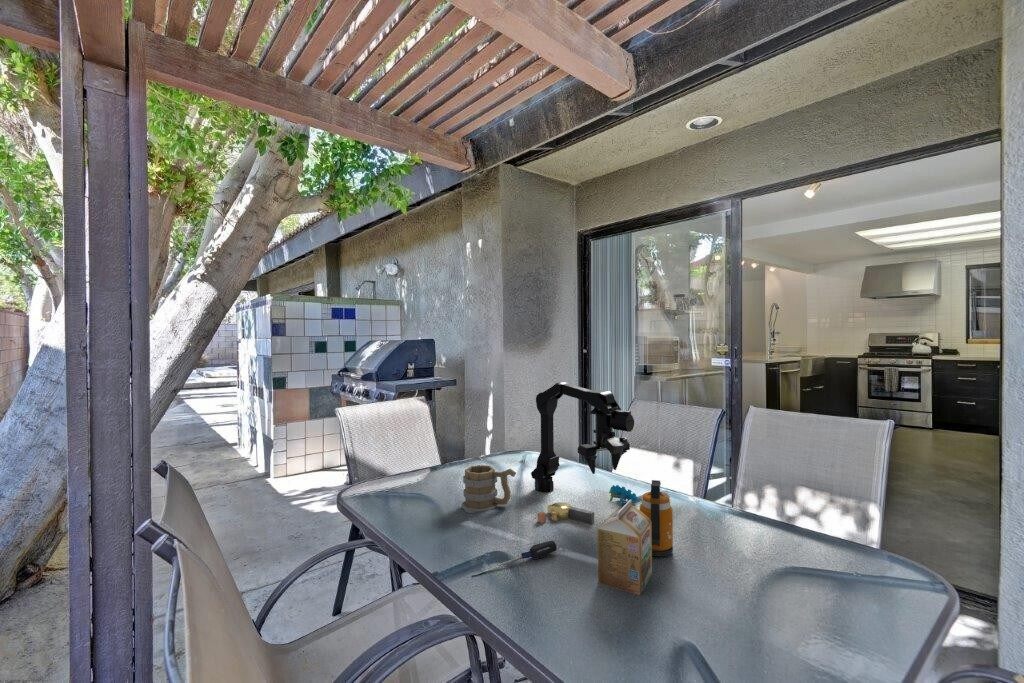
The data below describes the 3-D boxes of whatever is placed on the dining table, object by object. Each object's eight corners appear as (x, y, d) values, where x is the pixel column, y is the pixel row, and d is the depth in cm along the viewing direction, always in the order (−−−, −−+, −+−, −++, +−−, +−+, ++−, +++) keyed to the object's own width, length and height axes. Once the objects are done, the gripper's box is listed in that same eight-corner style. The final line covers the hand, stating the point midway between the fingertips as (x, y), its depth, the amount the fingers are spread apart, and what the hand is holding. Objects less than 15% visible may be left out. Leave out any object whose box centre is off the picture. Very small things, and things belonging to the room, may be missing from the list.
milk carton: (639, 595, 113) (639, 517, 112) (598, 583, 118) (597, 509, 118) (652, 575, 122) (651, 502, 121) (612, 564, 127) (612, 495, 127)
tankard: (456, 511, 166) (455, 469, 166) (472, 499, 178) (472, 459, 177) (508, 519, 159) (508, 475, 158) (522, 505, 170) (521, 464, 170)
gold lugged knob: (541, 517, 157) (541, 507, 157) (556, 507, 165) (556, 498, 165) (586, 528, 147) (585, 518, 147) (599, 517, 155) (599, 507, 155)
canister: (672, 545, 137) (672, 478, 137) (672, 564, 127) (672, 491, 126) (641, 541, 140) (640, 475, 140) (638, 559, 130) (637, 488, 129)
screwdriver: (474, 580, 121) (473, 565, 121) (468, 573, 124) (468, 559, 124) (558, 555, 133) (558, 542, 133) (552, 550, 136) (551, 537, 136)
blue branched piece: (643, 500, 169) (628, 484, 165) (638, 515, 166) (622, 499, 162) (618, 496, 177) (604, 481, 173) (613, 510, 174) (598, 495, 170)
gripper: (595, 435, 152) (596, 483, 153) (640, 429, 161) (640, 474, 161) (576, 428, 162) (576, 473, 163) (619, 423, 171) (619, 465, 171)
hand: (604, 471), depth 164 cm, fingers open, 9 cm apart
